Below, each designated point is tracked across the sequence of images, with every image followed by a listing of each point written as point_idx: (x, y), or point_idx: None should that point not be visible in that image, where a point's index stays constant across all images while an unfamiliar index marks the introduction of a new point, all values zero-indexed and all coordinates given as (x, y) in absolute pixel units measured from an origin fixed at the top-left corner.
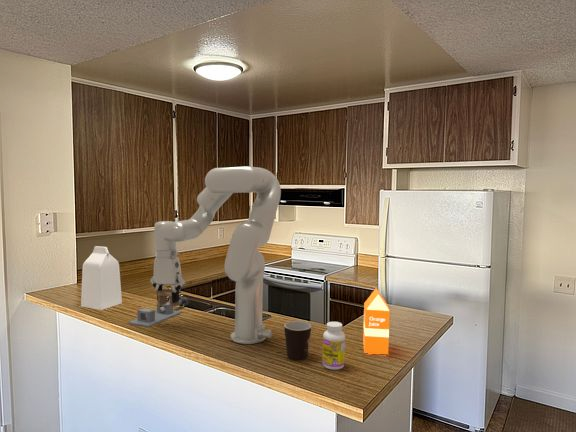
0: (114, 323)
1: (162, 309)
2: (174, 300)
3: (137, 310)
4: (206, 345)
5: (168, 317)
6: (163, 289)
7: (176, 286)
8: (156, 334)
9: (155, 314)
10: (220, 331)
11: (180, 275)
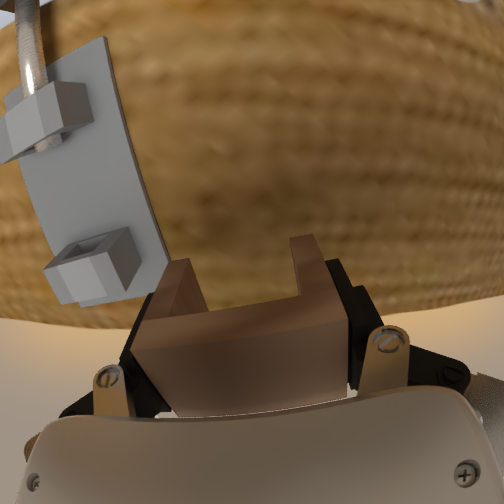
0: (60, 324)
1: (52, 146)
2: None
3: (62, 304)
4: (482, 259)
5: (128, 144)
6: (139, 363)
7: (372, 389)
8: None
9: (50, 172)
10: (470, 132)
11: (490, 495)
